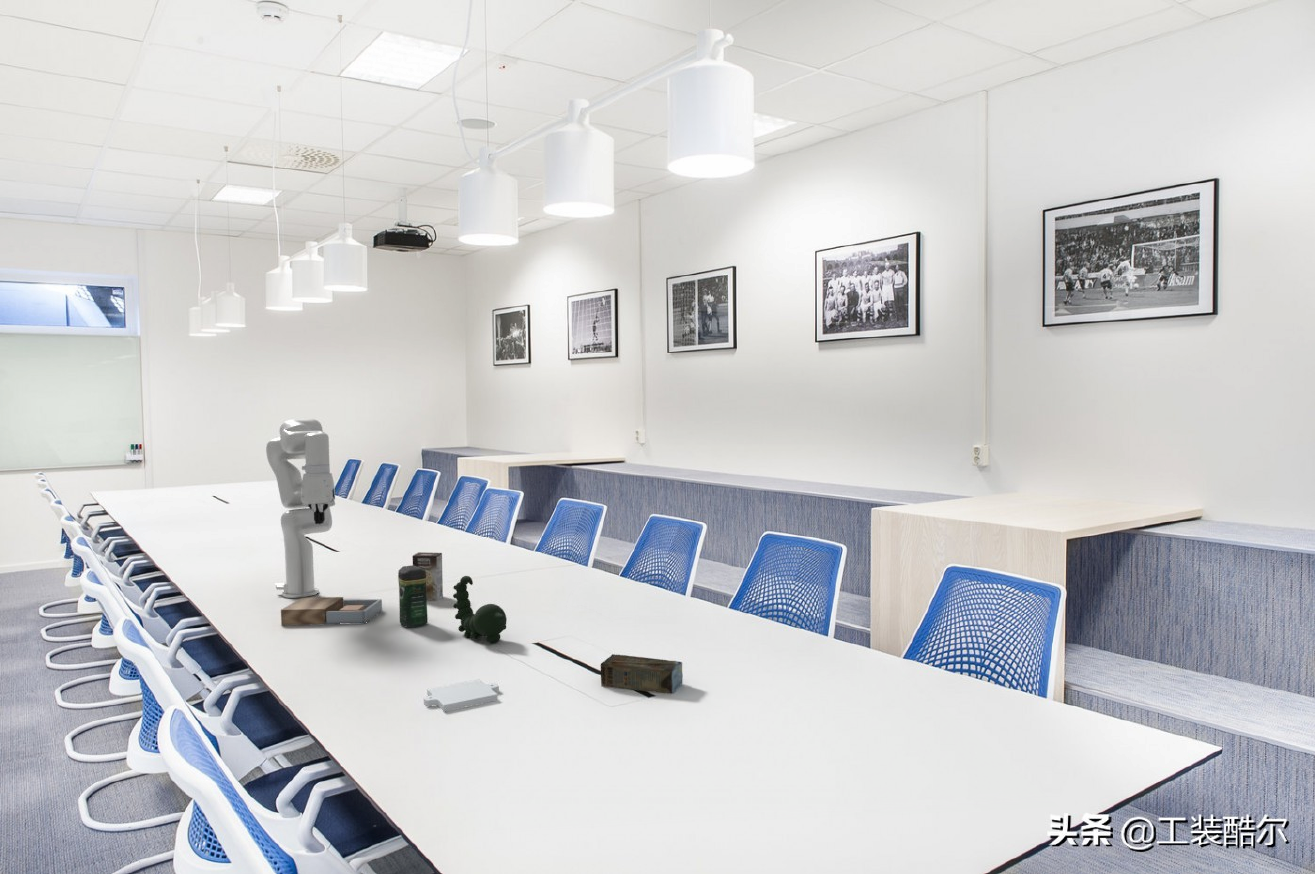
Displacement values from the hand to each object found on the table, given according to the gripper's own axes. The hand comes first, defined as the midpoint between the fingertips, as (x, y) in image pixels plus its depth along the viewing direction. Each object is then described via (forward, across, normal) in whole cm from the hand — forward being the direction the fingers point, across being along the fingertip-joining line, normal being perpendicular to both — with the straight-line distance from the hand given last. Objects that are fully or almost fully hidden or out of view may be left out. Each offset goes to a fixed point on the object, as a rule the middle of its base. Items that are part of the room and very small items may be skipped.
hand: (319, 523), depth 292 cm
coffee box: (+30, +33, +14) cm, 46 cm away
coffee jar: (+29, +38, -21) cm, 52 cm away
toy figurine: (+28, +63, -38) cm, 79 cm away
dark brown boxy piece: (+26, +113, -80) cm, 141 cm away
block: (+26, +15, -12) cm, 32 cm away
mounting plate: (+26, +70, -88) cm, 115 cm away
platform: (+30, +2, -12) cm, 32 cm away
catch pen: (+29, +15, -11) cm, 35 cm away
